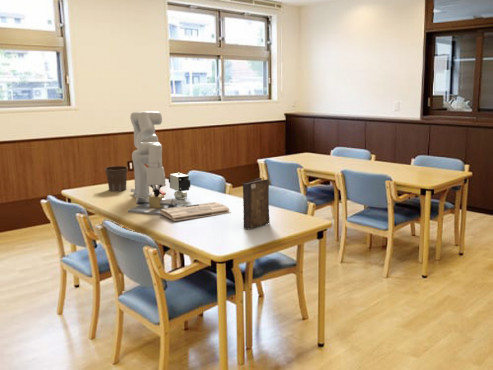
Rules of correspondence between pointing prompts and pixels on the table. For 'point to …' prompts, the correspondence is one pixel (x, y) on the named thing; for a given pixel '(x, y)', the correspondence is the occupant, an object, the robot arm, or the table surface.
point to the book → (256, 203)
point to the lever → (161, 192)
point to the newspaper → (195, 211)
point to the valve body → (156, 202)
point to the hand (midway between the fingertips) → (156, 195)
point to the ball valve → (179, 184)
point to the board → (150, 209)
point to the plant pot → (116, 177)
